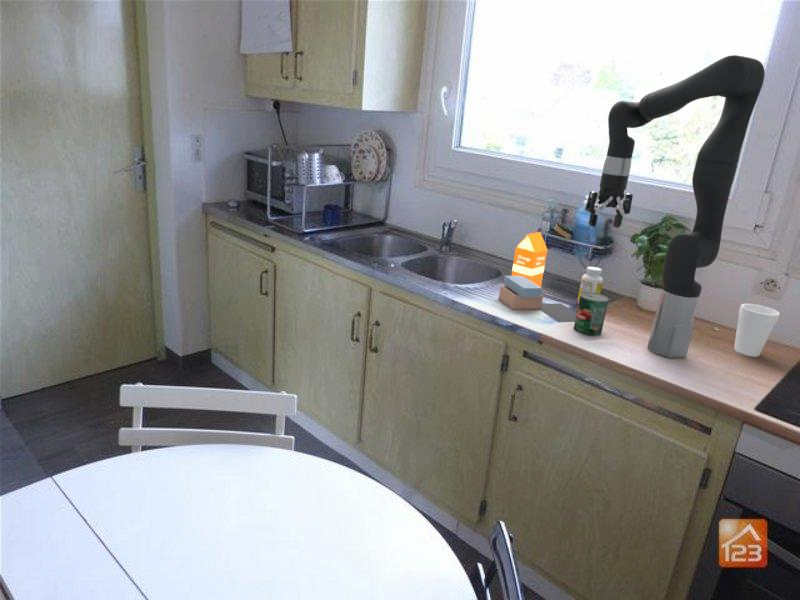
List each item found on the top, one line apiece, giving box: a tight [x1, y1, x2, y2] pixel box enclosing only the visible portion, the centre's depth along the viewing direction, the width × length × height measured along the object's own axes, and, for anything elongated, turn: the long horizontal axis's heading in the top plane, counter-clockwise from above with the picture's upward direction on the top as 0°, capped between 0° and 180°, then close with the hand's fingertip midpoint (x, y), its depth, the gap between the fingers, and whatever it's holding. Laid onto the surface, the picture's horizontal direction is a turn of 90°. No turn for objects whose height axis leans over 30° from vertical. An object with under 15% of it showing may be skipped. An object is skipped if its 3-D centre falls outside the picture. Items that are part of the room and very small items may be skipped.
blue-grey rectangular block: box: [503, 275, 543, 298], centre depth 181 cm, size 13×6×3 cm, turn 17°
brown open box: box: [498, 285, 544, 311], centre depth 182 cm, size 10×10×5 cm
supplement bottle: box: [577, 266, 604, 304], centre depth 188 cm, size 7×7×13 cm
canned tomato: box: [573, 292, 610, 337], centre depth 164 cm, size 8×8×11 cm
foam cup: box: [733, 303, 780, 358], centre depth 159 cm, size 10×9×13 cm
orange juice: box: [510, 231, 548, 288], centre depth 200 cm, size 8×9×20 cm
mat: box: [539, 302, 577, 323], centre depth 179 cm, size 16×11×1 cm
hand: (604, 226), depth 173 cm, fingers open, 8 cm apart
